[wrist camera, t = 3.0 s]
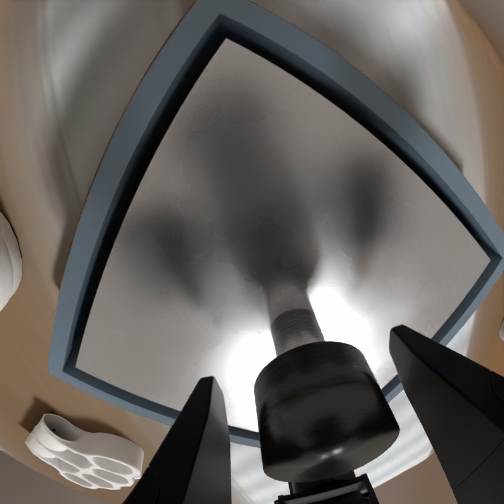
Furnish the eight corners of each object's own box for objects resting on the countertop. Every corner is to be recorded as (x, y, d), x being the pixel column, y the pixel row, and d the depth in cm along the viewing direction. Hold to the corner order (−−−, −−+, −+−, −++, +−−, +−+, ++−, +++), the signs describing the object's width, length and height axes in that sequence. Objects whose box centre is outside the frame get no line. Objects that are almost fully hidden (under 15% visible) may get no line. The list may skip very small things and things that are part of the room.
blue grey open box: (322, 390, 20) (343, 457, 15) (89, 298, 15) (47, 372, 10) (460, 227, 15) (525, 271, 10) (216, 39, 10) (211, -16, 5)
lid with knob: (313, 433, 14) (335, 517, 9) (79, 357, 11) (37, 465, 6) (482, 254, 10) (566, 324, 5) (226, 43, 6) (229, -72, 2)
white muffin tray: (55, 395, 22) (173, 456, 27) (26, 435, 26) (110, 480, 31) (45, 420, 19) (171, 480, 24) (19, 452, 23) (107, 497, 28)
